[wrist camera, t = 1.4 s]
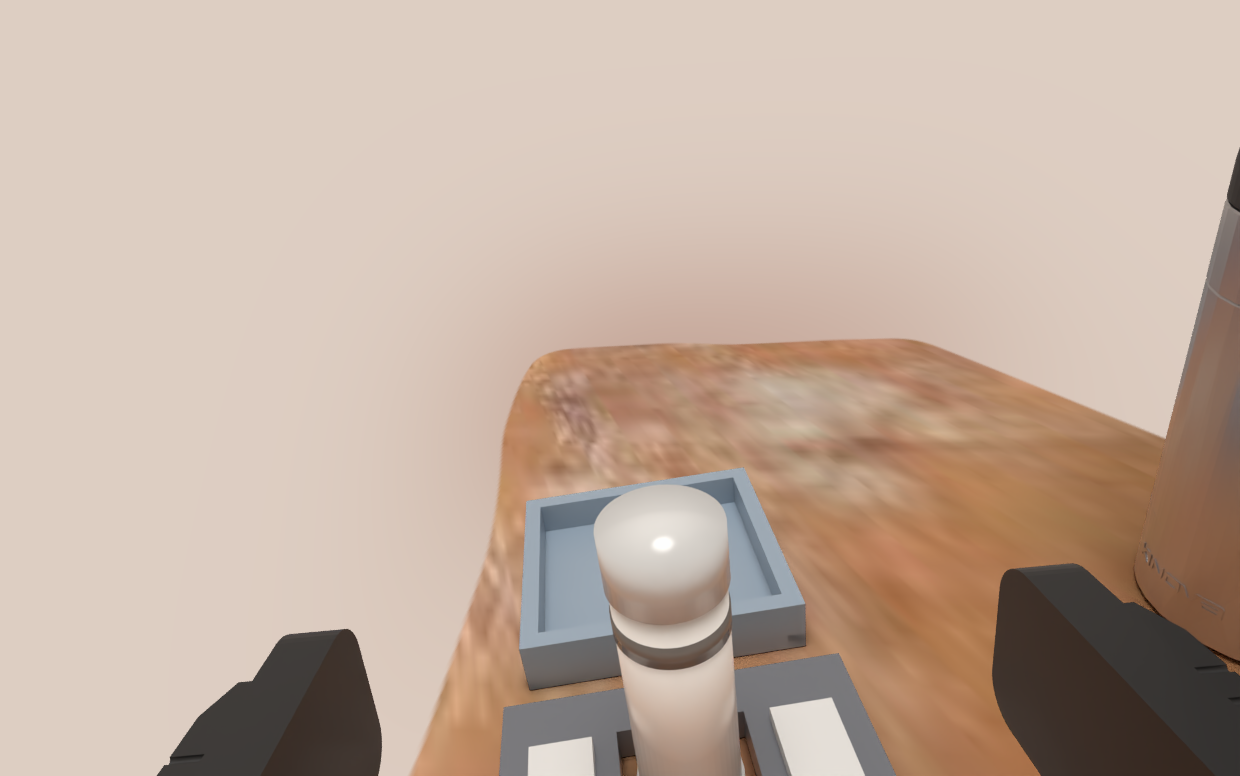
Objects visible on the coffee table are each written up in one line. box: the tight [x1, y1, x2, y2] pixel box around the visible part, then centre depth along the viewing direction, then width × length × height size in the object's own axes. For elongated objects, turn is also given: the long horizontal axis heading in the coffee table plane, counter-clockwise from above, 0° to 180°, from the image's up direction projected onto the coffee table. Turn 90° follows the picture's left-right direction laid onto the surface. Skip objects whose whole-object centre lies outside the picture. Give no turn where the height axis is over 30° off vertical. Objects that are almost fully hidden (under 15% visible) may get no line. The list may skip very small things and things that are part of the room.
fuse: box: [594, 484, 745, 776], centre depth 23 cm, size 4×4×13 cm
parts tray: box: [519, 468, 806, 690], centre depth 36 cm, size 12×11×2 cm
